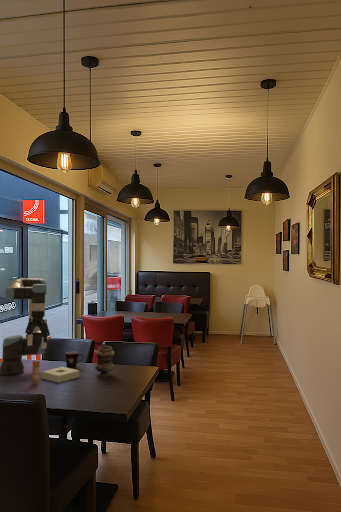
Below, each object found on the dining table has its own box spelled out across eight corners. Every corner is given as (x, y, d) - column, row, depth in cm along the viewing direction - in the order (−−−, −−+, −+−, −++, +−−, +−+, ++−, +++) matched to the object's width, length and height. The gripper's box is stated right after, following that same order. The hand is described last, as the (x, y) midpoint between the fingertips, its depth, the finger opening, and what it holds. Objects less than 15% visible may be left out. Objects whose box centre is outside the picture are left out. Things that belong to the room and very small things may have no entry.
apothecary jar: (103, 379, 229) (104, 349, 230) (90, 376, 236) (91, 347, 237) (117, 375, 238) (118, 347, 239) (104, 372, 246) (105, 344, 247)
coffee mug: (62, 368, 255) (62, 353, 255) (69, 365, 263) (69, 351, 264) (77, 369, 251) (77, 354, 252) (84, 366, 260) (84, 352, 260)
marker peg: (30, 384, 216) (31, 361, 217) (36, 382, 219) (37, 360, 220) (34, 385, 214) (35, 362, 214) (40, 383, 217) (41, 361, 218)
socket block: (41, 378, 229) (41, 371, 229) (62, 372, 242) (62, 366, 242) (58, 382, 220) (58, 375, 220) (79, 377, 233) (79, 370, 233)
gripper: (19, 309, 223) (18, 345, 222) (45, 312, 209) (44, 350, 207) (30, 308, 229) (29, 343, 228) (56, 311, 215) (55, 348, 213)
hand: (36, 346), depth 218 cm, fingers open, 13 cm apart
